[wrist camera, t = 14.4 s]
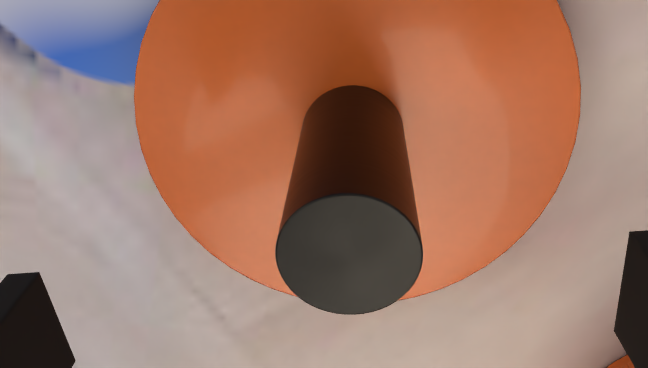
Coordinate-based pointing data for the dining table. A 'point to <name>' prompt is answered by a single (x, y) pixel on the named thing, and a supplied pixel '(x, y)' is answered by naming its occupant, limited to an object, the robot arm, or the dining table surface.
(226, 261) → the lid
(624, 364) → the pot
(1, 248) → the dining table surface
